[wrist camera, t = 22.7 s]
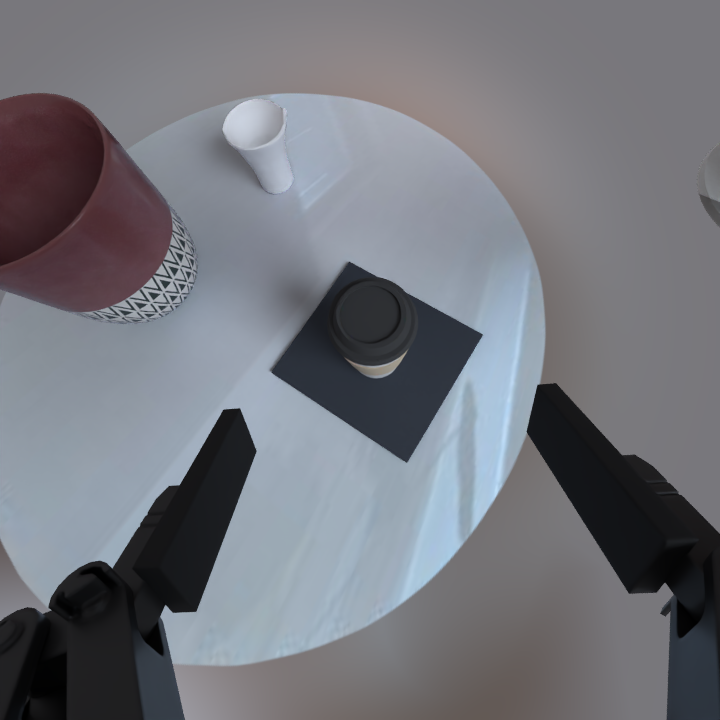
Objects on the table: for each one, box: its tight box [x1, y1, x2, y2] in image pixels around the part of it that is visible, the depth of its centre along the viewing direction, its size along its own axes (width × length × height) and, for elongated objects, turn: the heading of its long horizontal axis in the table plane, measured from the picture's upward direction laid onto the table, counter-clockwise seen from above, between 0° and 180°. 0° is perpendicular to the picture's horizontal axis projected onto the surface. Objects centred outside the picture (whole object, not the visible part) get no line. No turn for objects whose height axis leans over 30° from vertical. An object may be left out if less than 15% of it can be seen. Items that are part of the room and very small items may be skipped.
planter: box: [0, 93, 198, 324], centre depth 39 cm, size 20×20×21 cm
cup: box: [222, 99, 294, 194], centre depth 47 cm, size 9×9×10 cm
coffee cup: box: [327, 277, 418, 378], centre depth 36 cm, size 9×9×15 cm
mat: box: [272, 262, 483, 462], centre depth 44 cm, size 22×20×1 cm
